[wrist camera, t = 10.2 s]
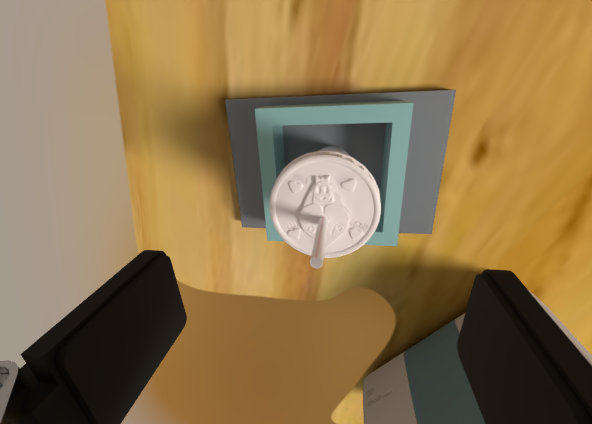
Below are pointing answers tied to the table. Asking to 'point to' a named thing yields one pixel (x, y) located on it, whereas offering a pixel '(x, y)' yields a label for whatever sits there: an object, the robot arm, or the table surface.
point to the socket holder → (355, 141)
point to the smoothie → (325, 204)
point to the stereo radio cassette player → (430, 382)
